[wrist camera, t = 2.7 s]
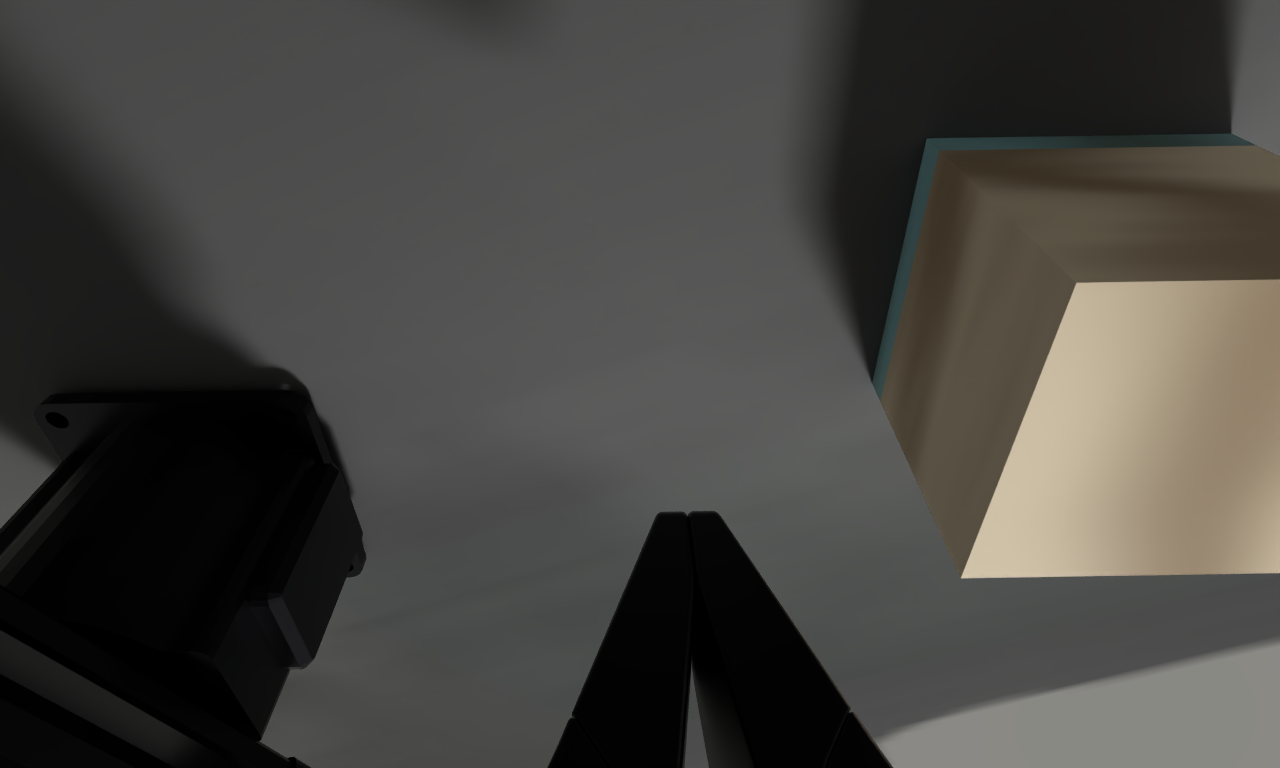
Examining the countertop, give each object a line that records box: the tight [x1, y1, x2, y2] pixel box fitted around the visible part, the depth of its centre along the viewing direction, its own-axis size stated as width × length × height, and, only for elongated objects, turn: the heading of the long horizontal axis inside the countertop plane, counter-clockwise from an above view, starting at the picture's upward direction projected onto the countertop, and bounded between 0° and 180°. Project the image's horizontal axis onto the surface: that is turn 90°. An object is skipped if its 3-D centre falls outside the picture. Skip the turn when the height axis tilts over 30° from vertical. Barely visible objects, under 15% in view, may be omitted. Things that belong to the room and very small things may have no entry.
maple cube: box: [872, 134, 1280, 578], centre depth 14 cm, size 6×6×6 cm
